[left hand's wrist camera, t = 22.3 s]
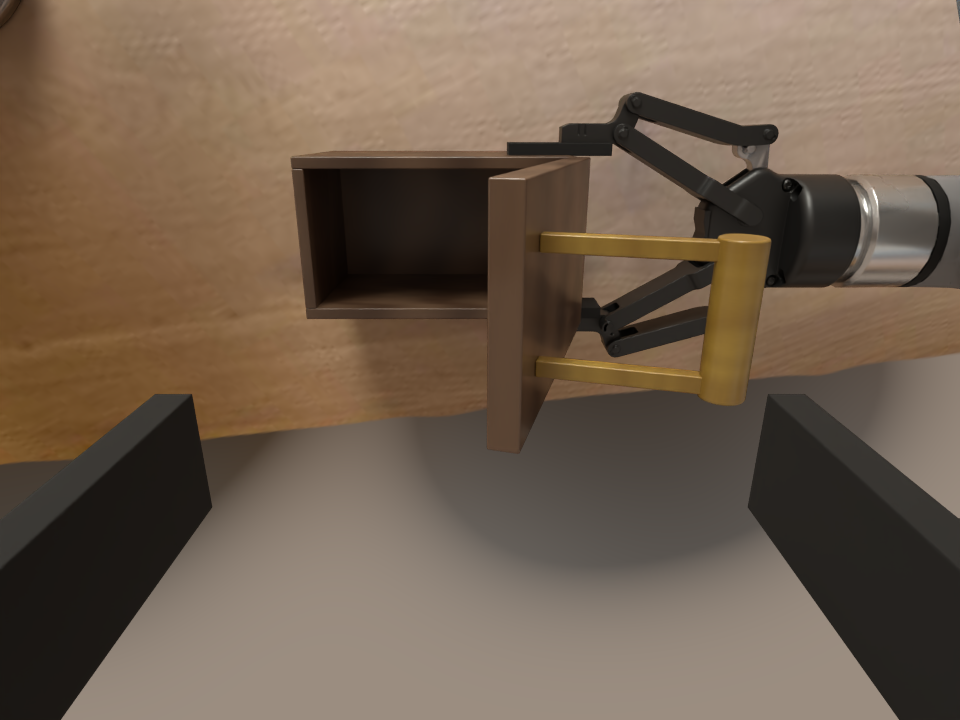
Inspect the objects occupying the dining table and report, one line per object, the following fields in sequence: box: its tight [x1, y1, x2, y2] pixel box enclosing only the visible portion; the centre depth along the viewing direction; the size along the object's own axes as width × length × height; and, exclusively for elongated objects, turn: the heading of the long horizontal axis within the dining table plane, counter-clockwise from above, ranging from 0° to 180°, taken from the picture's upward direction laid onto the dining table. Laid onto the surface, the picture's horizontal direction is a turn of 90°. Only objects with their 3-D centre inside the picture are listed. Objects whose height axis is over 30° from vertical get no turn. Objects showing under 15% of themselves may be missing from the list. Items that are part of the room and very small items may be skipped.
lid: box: [487, 157, 771, 454], centre depth 28 cm, size 18×10×9 cm
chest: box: [291, 151, 575, 319], centre depth 43 cm, size 17×10×11 cm, turn 90°
